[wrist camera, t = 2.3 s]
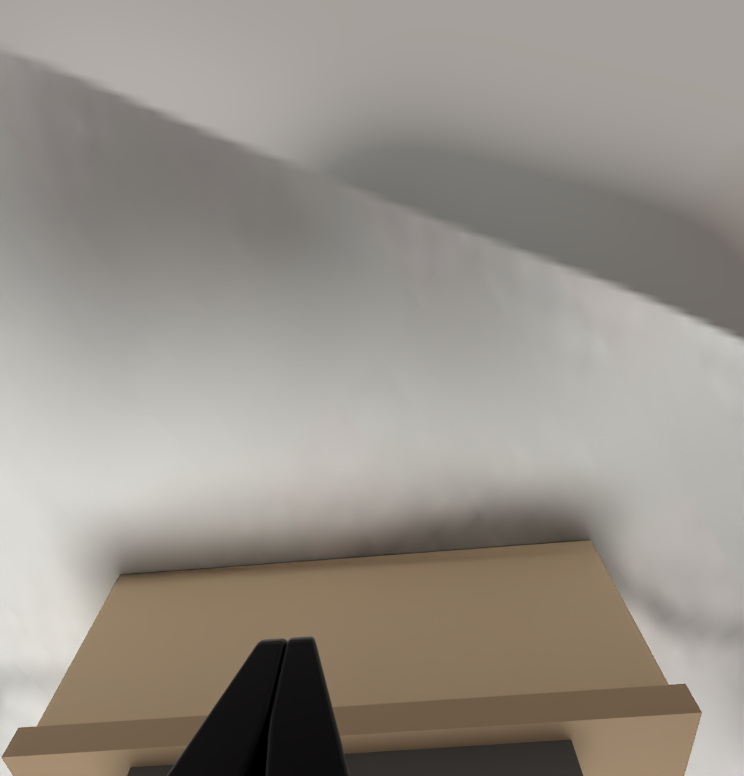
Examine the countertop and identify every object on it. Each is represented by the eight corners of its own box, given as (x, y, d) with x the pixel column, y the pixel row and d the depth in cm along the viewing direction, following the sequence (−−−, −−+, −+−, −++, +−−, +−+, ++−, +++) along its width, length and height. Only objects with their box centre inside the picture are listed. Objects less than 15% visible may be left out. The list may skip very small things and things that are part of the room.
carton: (590, 540, 20) (671, 690, 15) (562, 785, 27) (611, 948, 22) (119, 575, 21) (33, 732, 15) (210, 807, 28) (172, 971, 22)
